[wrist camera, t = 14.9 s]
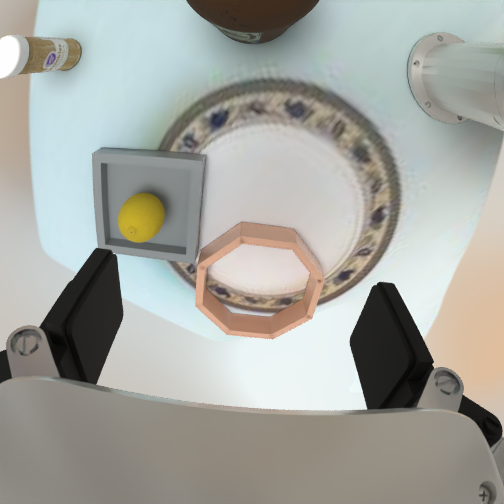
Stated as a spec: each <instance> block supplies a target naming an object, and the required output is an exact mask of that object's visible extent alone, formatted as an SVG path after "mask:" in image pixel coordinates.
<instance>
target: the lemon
mask: <svg viewBox="0 0 504 504" xmlns="http://www.w3.org/2000/svg"><path fill="white" fill-rule="evenodd" d="M164 218H165V210H164V207H163V204H162V203H161V201H160V200H159V199H158V198H157V197H156V196H154V195H153V194H150V193H137V194H135V195H133V196H131V197H130V198H128V199H127V200H126V201H125V202H124V204H123V205H122V207H121V209H120V211H119V215H118V227H119V230H120V232H121V233H122V235H123V236H124V237H125V238H126V239H128V240H130V241H132V242H136V243H142V242H145V241H148V240H150V239H151V238H153V237H154V236H155V235H156V234H157V233H158V232H159V231H160V229H161V227H162V225H163V223H164Z"/></svg>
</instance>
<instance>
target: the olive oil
mask: <svg viewBox="0 0 504 504" xmlns="http://www.w3.org/2000/svg"><path fill="white" fill-rule="evenodd" d="M187 2H188V3H189V5H190V6H191V7H192V8H193V9H194V10H195V11H196V12H197V13H198V14H199V15H200V16H201V17H203V18H204V19H206V20H207V21H209V22H210V23H211V24H213V25H214V26H215V27H217V28H218V29H219V30H220V31H221V32H222V33H223V34H225V35H226V36H227V37H229V38H231V39H233V40H235V41H238V42H242V43H248V44H258V43H264V42H268V41H270V40H273V39H275V38H277V37H278V36H280V35H281V34H282V33H283V32H285V31H286V30H287V29H288V28H289V27H290V26H291V25H293V24H294V23H295V22H297V21H298V20H300V19H301V18H303V17H304V16H305V15H307V14H308V13H309V12H310V11H311V10H312V9H313V8H314V7H315V6H316V4H317V3H318V2H319V0H187Z"/></svg>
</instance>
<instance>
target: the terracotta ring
mask: <svg viewBox="0 0 504 504" xmlns="http://www.w3.org/2000/svg"><path fill="white" fill-rule="evenodd" d="M241 244H250V245H258V246H266V247H274V248H282V249H290V250H293V252H294V253H295V254H296V255H297V257H298V258H299V259H300V260H301V262H302V263H303V264H304V266H305V267H306V268H307V269H308V271H309V272H310V276H309V280H308V283H307V287H306V290H305V293H304V297H303V299H302V300H300V301H298V302H296V303H294V304H293V305H291V306H289V307H287V308H286V309H284V310H282V311H280V312H278V313H276V314H275V315H273V316H271V317H265V316H256V315H246V314H237V313H231V312H230V311H229V310H228V309H227V308H226V307H225V306H224V305H223V304H222V303H221V302H220V301H219V300H218V299H217V298H216V297H215V296H214V295H212V294H211V293H210V292H209V291H208V290H207V289H206V277H207V267H208V266H210V265H211V264H213V263H214V262H216V261H217V260H219V259H220V258H222V257H223V256H225V255H226V254H228V253H229V252H231V251H232V250H234V249H235V248H237V247H238V246H240V245H241ZM324 281H325V279H324V276H323V273H322V269H321V266H320V263H319V262H318V261H317V259H316V258H315V257H314V255H313V254H312V253H311V251H310V250H309V249H308V247H307V246H306V245H305V243H304V242H303V241H302V239H301V238H300V237H299V235H298V234H297V233H296V231H295V230H294V229H292V228H285V227H277V226H270V225H262V224H254V223H246V222H240V223H239V224H237V225H236V226H235V227H233V228H232V229H230V230H229V231H227V232H226V233H224V234H223V235H222V236H220V237H219V238H217V239H216V240H214V241H213V242H212V243H210V244H209V245H207V246H206V247H204V248H203V249H202V250H201V254H200V258H199V261H198V266H197V283H196V303H195V306H196V307H197V308H198V309H199V310H200V311H201V312H202V313H203V314H204V315H206V316H207V317H208V318H209V319H210V320H211V321H212V322H213V323H214V324H216V325H217V326H218V327H219V328H220V329H221V330H222V331H223V332H225V333H226V334H227V335H235V336H244V337H255V338H265V339H274V338H276V337H278V336H280V335H282V334H284V333H286V332H287V331H289V330H291V329H293V328H295V327H297V326H299V325H301V324H302V323H305V322H306V321H308V320H310V319H312V317H313V314H314V311H315V308H316V305H317V302H318V299H319V296H320V293H321V290H322V287H323V284H324Z"/></svg>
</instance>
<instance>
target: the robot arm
mask: <svg viewBox="0 0 504 504" xmlns="http://www.w3.org/2000/svg"><path fill="white" fill-rule="evenodd" d="M437 38H438V39H437ZM414 62H415V65H414ZM408 79H409V84H410V87H411V91H412V93H413V95H414V97H415V99H416V101H417V102H418V104H419V105H420V107H421V108H422V109H423V110H424V111H425V112H426V113H427V114H429V115H430V116H431V117H433V118H435V119H437V120H439V121H442V122H445V123H451V124H455V123H461V122H464V121H466V120H468V119H472V120H474V121H477V122H480V123H483V124H486V125H488V126H491V127H494V128H496V129H499V130H501V131H504V44H503V43H466V42H465V41H463V40H462V39H460V38H459V37H457V36H455V35H452V34H449V33H434V34H429V35H427V36H425V37H423V38H422V39H421V40H419V41H418V42H417V43H416V45H415V46H414V48H413V49H412V52H411V54H410V57H409V62H408ZM425 103H426V105H425ZM122 319H123V305H122V298H121V290H120V281H119V272H118V262H117V256H116V254H113V252H112V250H110V249H102V248H96V249H95V250H94V251H93V252H92V254H91V255H90V256H89V258H88V259H87V261H86V262H85V263H84V265H83V266H82V267H81V269H80V270H79V272H78V273H77V275H76V276H75V277H74V279H73V280H72V281H70V282H69V283H68V284H67V286H66V288H65V289H64V290H63V292H62V293H61V295H60V296H59V298H58V299H57V301H56V302H55V304H54V305H53V307H52V308H51V310H50V311H49V313H48V314H47V316H46V318H45V319H44V321H43V322H42V324H41V326H40V327H36V326H31V325H27V326H23V327H20V328H18V329H16V330H15V331H14V332H12V333H11V334H10V336H9V337H8V339H7V342H6V350H3V351H1V352H0V504H504V438H503V437H502V426H501V423H500V421H499V420H498V418H497V417H496V416H495V415H493V414H492V413H490V412H489V411H487V410H486V409H484V408H482V407H481V406H479V405H478V404H476V403H475V402H473V401H472V400H470V399H468V398H467V397H465V396H464V395H463V391H464V386H463V383H462V380H461V379H460V377H459V376H458V375H457V374H456V373H455V372H453V371H452V370H450V369H448V368H445V367H438V368H435V369H434V367H433V365H432V364H433V362H434V361H433V359H432V356H431V354H430V352H429V350H428V348H427V346H426V344H425V342H424V340H423V338H422V336H421V334H420V332H419V330H418V328H417V326H416V324H415V322H414V320H413V318H412V316H411V314H410V312H409V311H408V309H407V307H406V305H405V303H404V301H403V299H402V298H401V296H400V294H399V292H398V290H397V288H396V287H395V285H394V284H393V283H386V282H378V283H377V285H374V286H373V287H372V289H371V291H370V294H369V296H368V298H367V301H366V303H365V305H364V308H363V310H362V312H361V315H360V317H359V319H358V321H357V324H356V326H355V328H354V330H353V333H352V335H351V337H350V347H351V351H352V354H353V357H354V361H355V365H356V368H357V372H358V375H359V379H360V383H361V387H362V390H363V394H364V398H365V402H366V406H367V410H344V411H343V410H342V411H307V410H276V409H258V408H244V407H232V406H222V405H213V404H204V403H196V402H188V401H181V400H174V399H168V398H162V397H155V396H150V395H144V394H139V393H134V392H128V391H123V390H118V389H113V388H108V387H104V386H99V385H96V384H97V381H98V379H99V376H100V374H101V371H102V368H103V366H104V363H105V361H106V358H107V356H108V353H109V351H110V348H111V346H112V343H113V341H114V339H115V336H116V334H117V331H118V329H119V327H120V324H121V322H122Z"/></svg>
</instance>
